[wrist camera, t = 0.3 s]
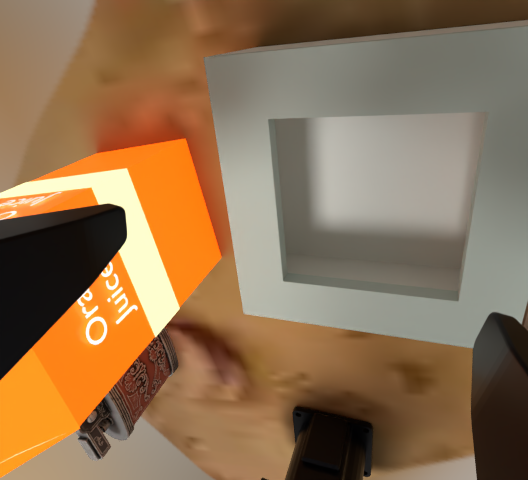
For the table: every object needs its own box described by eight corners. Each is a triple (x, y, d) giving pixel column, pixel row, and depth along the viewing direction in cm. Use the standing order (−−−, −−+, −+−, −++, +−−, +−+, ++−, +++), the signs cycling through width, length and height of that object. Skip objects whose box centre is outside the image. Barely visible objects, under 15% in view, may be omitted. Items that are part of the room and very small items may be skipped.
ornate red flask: (122, 300, 35) (28, 389, 26) (153, 299, 33) (64, 393, 25) (156, 368, 38) (81, 466, 30) (185, 371, 36) (115, 474, 28)
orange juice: (138, 259, 31) (-171, 524, 15) (94, 152, 28) (-377, 349, 11) (224, 258, 28) (-49, 589, 12) (187, 136, 25) (-277, 376, 8)
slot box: (494, 279, 22) (513, 354, 17) (277, 258, 27) (243, 313, 22) (548, 17, 16) (601, 19, 11) (256, 47, 21) (203, 57, 16)
